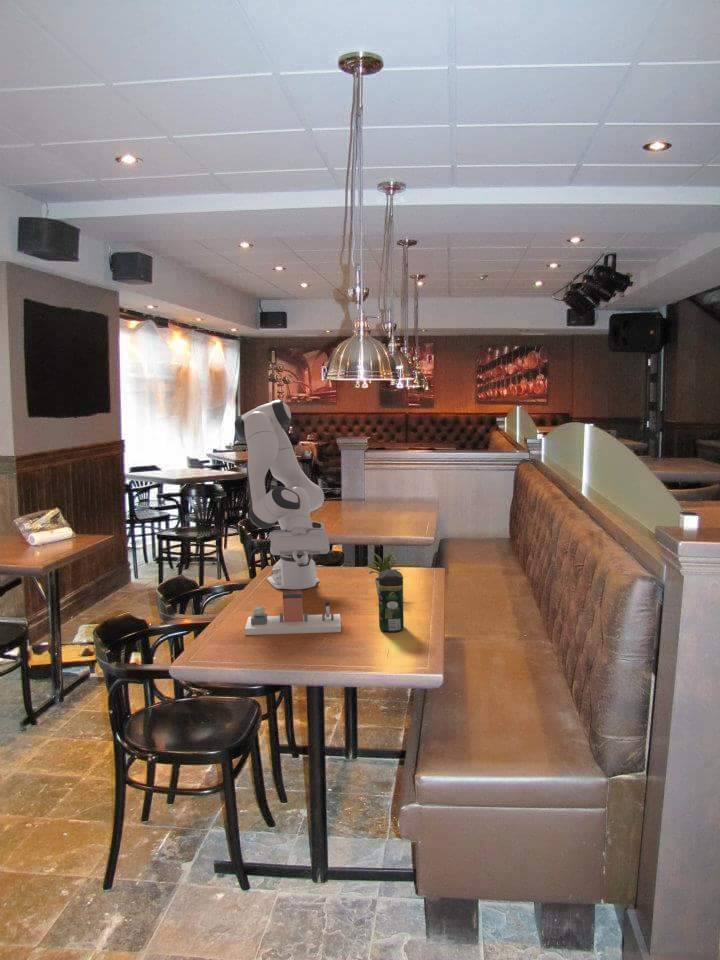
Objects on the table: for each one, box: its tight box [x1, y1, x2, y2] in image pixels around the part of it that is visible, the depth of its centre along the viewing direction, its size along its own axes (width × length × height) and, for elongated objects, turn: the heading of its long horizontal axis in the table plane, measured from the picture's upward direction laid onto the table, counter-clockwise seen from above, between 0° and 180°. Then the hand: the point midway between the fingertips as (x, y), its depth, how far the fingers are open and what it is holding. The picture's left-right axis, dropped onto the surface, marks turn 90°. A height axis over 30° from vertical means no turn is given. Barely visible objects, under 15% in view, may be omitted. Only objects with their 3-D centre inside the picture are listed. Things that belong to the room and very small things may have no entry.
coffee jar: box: [377, 568, 405, 633], centre depth 231 cm, size 10×8×19 cm
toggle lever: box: [324, 600, 331, 617], centre depth 235 cm, size 2×2×5 cm
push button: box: [252, 606, 266, 616], centre depth 233 cm, size 4×4×2 cm
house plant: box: [363, 551, 402, 595], centre depth 269 cm, size 14×14×16 cm
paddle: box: [282, 589, 304, 622], centre depth 230 cm, size 2×6×12 cm, turn 94°
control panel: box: [244, 612, 342, 636], centre depth 234 cm, size 12×30×4 cm, turn 93°
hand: (300, 564), depth 246 cm, fingers closed
